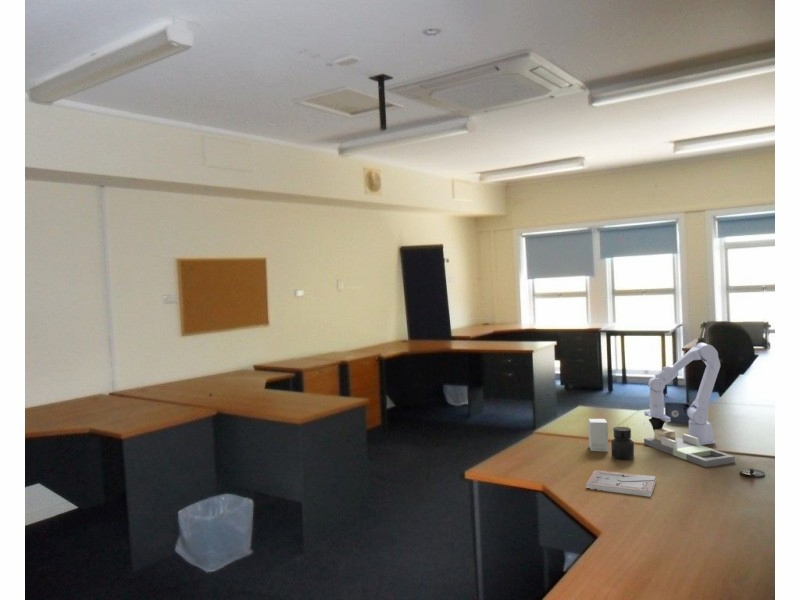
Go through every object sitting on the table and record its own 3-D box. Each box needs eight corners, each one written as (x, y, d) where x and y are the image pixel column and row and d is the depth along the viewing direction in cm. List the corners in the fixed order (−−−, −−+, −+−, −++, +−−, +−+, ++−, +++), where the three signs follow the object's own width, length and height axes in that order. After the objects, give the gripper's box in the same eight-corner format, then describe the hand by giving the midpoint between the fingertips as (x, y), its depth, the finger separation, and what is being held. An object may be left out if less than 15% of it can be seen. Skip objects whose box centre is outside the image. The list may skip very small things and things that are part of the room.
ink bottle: (634, 454, 253) (634, 426, 252) (635, 461, 245) (635, 431, 244) (610, 453, 256) (609, 425, 256) (610, 459, 248) (609, 430, 247)
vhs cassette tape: (706, 424, 297) (705, 404, 296) (705, 425, 294) (705, 405, 294) (666, 420, 307) (665, 401, 306) (665, 422, 304) (664, 402, 304)
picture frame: (656, 483, 220) (595, 475, 231) (655, 476, 220) (594, 469, 231) (650, 498, 206) (586, 489, 216) (650, 491, 206) (585, 483, 216)
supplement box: (608, 451, 259) (607, 422, 258) (590, 451, 260) (589, 422, 260) (606, 446, 266) (605, 418, 266) (588, 446, 268) (587, 418, 267)
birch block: (665, 437, 268) (665, 428, 268) (675, 440, 263) (675, 431, 262) (654, 438, 267) (654, 429, 266) (664, 441, 261) (663, 432, 261)
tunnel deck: (670, 440, 271) (669, 428, 271) (734, 462, 237) (734, 448, 237) (644, 444, 268) (643, 431, 267) (705, 467, 233) (705, 453, 233)
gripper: (638, 402, 274) (639, 431, 275) (660, 408, 260) (661, 439, 261) (651, 400, 276) (652, 430, 277) (674, 406, 262) (675, 437, 263)
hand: (657, 434), depth 269 cm, fingers closed
